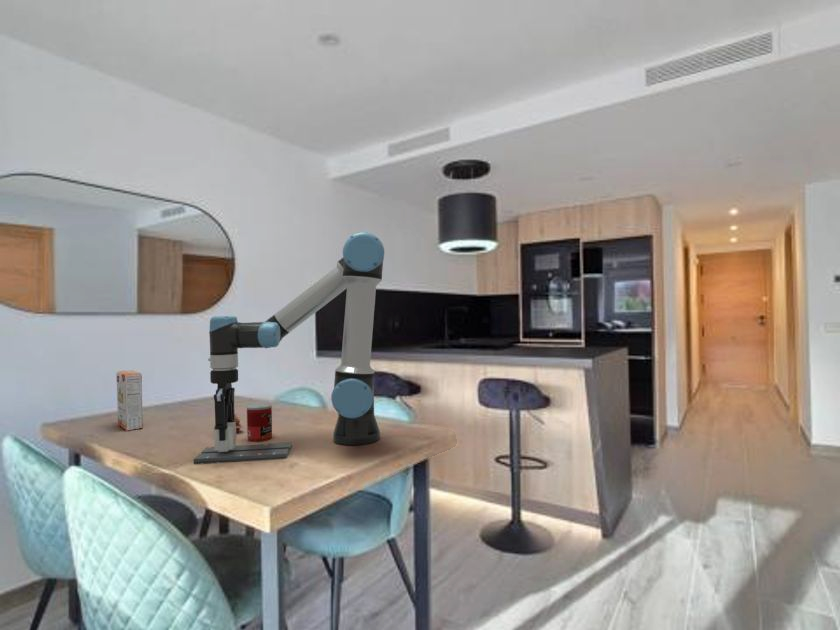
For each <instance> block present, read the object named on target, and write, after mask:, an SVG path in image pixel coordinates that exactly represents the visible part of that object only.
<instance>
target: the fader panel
mask: <svg viewBox="0 0 840 630" xmlns="http://www.w3.org/2000/svg"><path fill="white" fill-rule="evenodd" d="M292 448H293V442H278V443H277V442H276V443H261V444H258V443H257V444H243V445H236V447H235V448H234V449H231V450H229V451H228V452H218V450H215V446H208V447H205V448H204V449H203V450H202V451H201V452H200V453H199V454H198V455H196V456H195V457H194V458H193V465H199V464H200V465H201V463H203V464H215V463H216V464H217V462H220V463H231V462H232V463H233V462H234V463H235V462H236V463H237V462H248V461H249V462H252V461H265V460H266V461H267V460H280V459H281V460H283V459H284V460H285V458H286V459H287V458H288V456H289V454H290V452H291V450H292Z"/></svg>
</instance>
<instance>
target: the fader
mask: <svg viewBox="0 0 840 630" xmlns="http://www.w3.org/2000/svg"><path fill="white" fill-rule="evenodd" d="M213 427H215V425H214V426H213ZM227 428H228V434H229V450H231V449H234V448H235V447H236V446H237V430H236V422H228V423H227ZM213 432H214V434H213V435H214V447H215V450H218V429H217V430H215V429H214V431H213ZM227 452H228V451H227Z"/></svg>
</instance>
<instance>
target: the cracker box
mask: <svg viewBox="0 0 840 630" xmlns="http://www.w3.org/2000/svg"><path fill="white" fill-rule="evenodd" d="M142 375H143V373H141V372H137V371H135V370H121V371H116V397H117V399H116V400H117V405H116V406H117V424H118V426H119V427H120V426H121V428H122V429H123V430H124V429H125V430H126V431H125V432H128V431H127V430H131V431H135V430H134V429H136V430H141V429H140V428H142V429H143V428H144V422H143V421H144V420H143V419H144V418H143V385H142V383H143V380H142V378H143V377H142Z"/></svg>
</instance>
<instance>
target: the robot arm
mask: <svg viewBox="0 0 840 630" xmlns="http://www.w3.org/2000/svg"><path fill="white" fill-rule="evenodd" d="M384 258H385V248H384V244H383V242H382V241H381V240H380V239H379V237H377V236H376V235H375V234H373V233H371V232H365V231H361V232H356V233H354V234H351V236H349V237H348V238H347V240H346V241H345V243H344V245H343V246H342V257H341V258H340V259H339V260H338V261H337V262H336V266H335V267H334V268H333V269H331V270H330V271H328V273H326V274H325V275H323V277H321V278H320V279H318V281H316V282H315V283H313V284H312V285H311V286H309V287H308V288H307V289H305V290H304V291H303V292H302V293H300V294H298V296H296V297H295V298H294V299H293V300H291V301H290V302H288V303H287V304H286V305H285V306H284V307H283V306H282V308H281V309H279V310H278V311H277V312H275V313H274V314H273V315H272V316H271V317H269V318H268V319H267V320H265V321H259V322H258V321H256V322H255V321H254V322H239V321H238V318H237V316H234V315H230V316H228V315H226V316H225V315H224V316H222V315H221V316H212V317H211V318H210V320H209V331H208V333H209V355H210V356H209V358H207V359H208V360H207V361H208V362H210V364H209V366H210V367H209V368H211V369H212V370H211V371H210V373H209V374H210V383H211V384H213V385H216V384H217V389H216V390H215V394H213V399H214V421H215V423H214V426H215V427H214V426H213V427H214V429H215V430H217V429H218V452H227V451H229V434H228V428H227V423H228V422H236V421H233V420H234V419H235V418H234V413H235V390H236V388H235V387H232V386H233V385H232V384H233V383H237V382H238V381H239V370H238V369H237V368H238V367H239V353H238V351H239V349H259V348H260V349H261V348H262V349H263V348H264V349H271V348H277V347H278V346H279V345H280V342H281V341H282V340H283V338H284V337H286V336H288V334H290V333H291V332H292V331H294V330H295V329H296V328H297V327H298V326H300V325H302V324H303V323H304V322H305V321H306V320H308V319H309V318H310V317H312V316H314V314H315V313H317V312H318V311H319V310H320V309H322V308H323V307H325V306H327V304H329V302H332V300H334V299H335V298H337V296H339V295H340V294H341V293H343V292H344V291H345V290H346V294H345V296H346V297H345V310H344V322H343V332H342V333H343V336H342V347H341V357H340V358H341V362H340V364H339V365H338V366H337V367H336V368H335V370H334V371H335V372H334V382H333V390H332V391H331V396H330V397H331V398H330V399H331V403H332V407H333V408H334V410H335V412H337V414H338V415H337V420H336V424H335V428H334V430H333V434H332V436H333V437H332V441H333V442H334V443H336V444H338V445H343V446H344V445H346V446H360V445H367V444H371V443H375V442H378V441H379V440H380V439H381V432H380V431H381V430H380V428H379V425H378V422H377V419H376V416H375V392H374V386H375V385H374V384H375V383H374V382H375V370H374V369H373V368H372V367H371V357H372V343H373V330H374V329H373V328H374V319H375V318H374V317H375V316H374V315H375V306H376V292H377V291H376V290H377V286H378V284H380V283H381V282H382V278H383V270H384V269H383V266H384V265H383V264H384Z"/></svg>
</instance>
